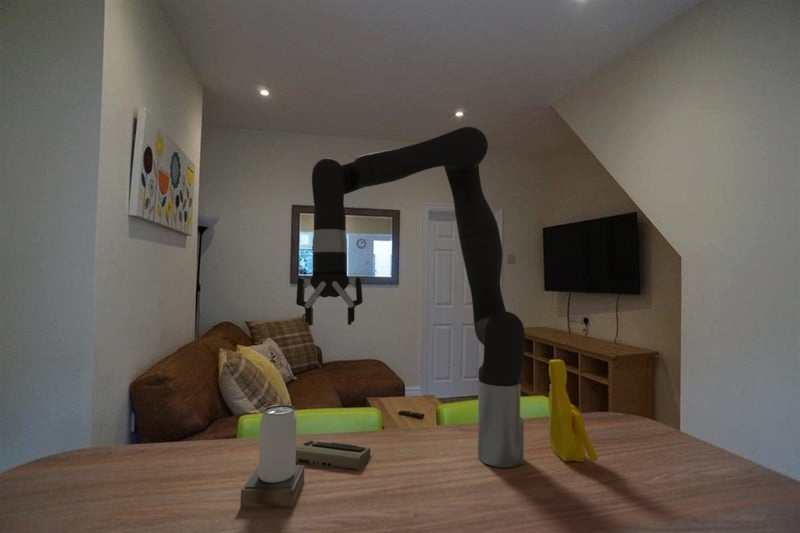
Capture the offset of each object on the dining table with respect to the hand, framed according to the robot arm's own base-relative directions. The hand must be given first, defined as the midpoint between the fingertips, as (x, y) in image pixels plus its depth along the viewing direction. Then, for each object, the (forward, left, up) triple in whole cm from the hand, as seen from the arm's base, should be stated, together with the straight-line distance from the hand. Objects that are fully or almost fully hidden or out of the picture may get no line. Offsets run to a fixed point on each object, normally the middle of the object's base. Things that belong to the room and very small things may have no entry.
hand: (330, 324), depth 85 cm
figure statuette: (-54, -3, -30) cm, 62 cm away
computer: (-1, -2, -31) cm, 31 cm away
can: (+7, +12, -27) cm, 30 cm away
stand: (+8, +12, -30) cm, 33 cm away
